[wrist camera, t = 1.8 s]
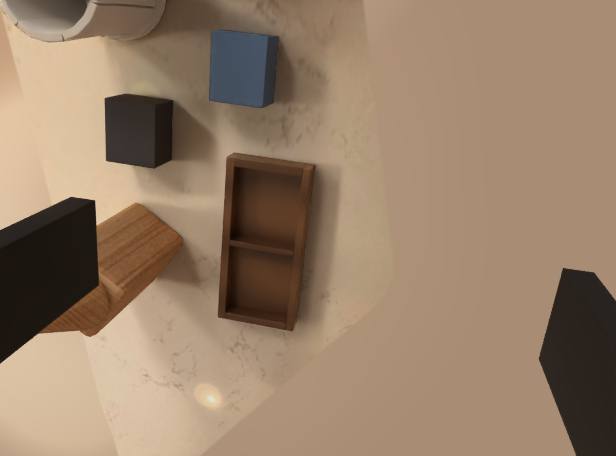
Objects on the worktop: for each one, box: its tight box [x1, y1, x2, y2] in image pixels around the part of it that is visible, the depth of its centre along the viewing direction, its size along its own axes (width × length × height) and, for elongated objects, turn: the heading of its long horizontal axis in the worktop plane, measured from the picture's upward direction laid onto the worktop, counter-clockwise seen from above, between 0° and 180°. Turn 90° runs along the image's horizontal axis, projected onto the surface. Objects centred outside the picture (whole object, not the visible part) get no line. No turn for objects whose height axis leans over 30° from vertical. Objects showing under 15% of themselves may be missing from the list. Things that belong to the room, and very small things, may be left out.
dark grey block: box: [105, 94, 173, 168], centre depth 53 cm, size 6×5×4 cm
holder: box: [218, 153, 315, 331], centre depth 56 cm, size 17×8×2 cm, turn 174°
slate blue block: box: [209, 30, 279, 108], centre depth 50 cm, size 6×5×4 cm
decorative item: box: [38, 203, 183, 337], centre depth 50 cm, size 7×7×20 cm
